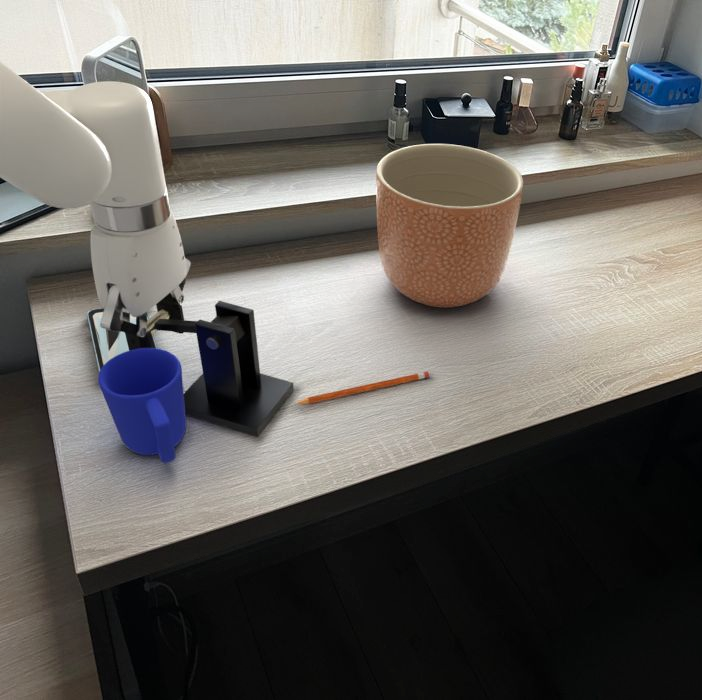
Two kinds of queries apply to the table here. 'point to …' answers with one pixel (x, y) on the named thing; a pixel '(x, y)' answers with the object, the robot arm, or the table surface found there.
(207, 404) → the bracket
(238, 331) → the lever
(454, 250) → the planter
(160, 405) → the mug
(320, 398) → the pencil
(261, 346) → the table surface
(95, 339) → the smartphone
